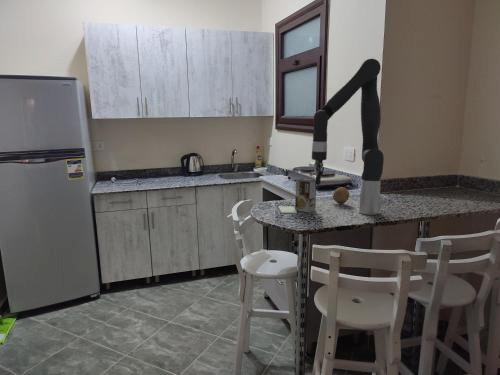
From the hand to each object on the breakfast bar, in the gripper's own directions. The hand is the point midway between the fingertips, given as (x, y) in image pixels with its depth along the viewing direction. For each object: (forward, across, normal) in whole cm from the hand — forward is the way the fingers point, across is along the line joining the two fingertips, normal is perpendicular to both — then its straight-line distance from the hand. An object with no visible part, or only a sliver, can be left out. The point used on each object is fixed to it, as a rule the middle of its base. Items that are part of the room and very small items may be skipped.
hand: (317, 183), depth 185 cm
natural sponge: (+14, +12, -16) cm, 25 cm away
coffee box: (+14, 0, +6) cm, 16 cm away
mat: (+14, 0, +16) cm, 21 cm away
